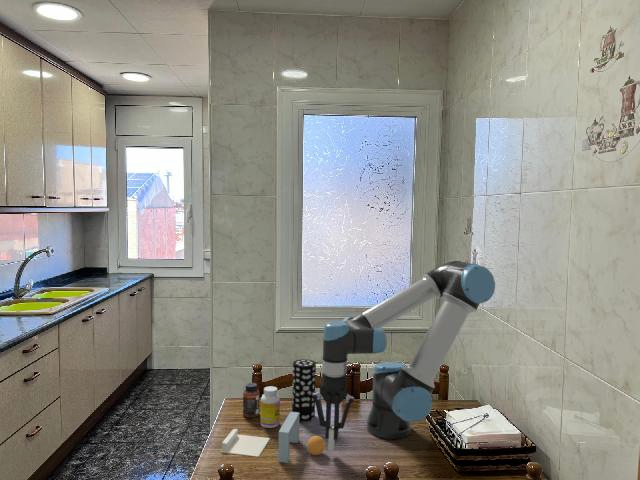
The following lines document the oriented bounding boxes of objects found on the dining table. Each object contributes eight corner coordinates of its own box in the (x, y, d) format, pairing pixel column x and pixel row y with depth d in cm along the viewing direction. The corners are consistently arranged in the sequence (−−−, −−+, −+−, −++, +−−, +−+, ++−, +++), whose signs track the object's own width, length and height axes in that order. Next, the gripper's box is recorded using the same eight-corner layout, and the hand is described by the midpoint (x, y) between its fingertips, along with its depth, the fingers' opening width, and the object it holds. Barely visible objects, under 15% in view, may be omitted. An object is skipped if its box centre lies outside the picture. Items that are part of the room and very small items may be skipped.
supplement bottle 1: (261, 416, 172) (262, 385, 172) (246, 419, 169) (247, 388, 168) (255, 410, 177) (255, 380, 177) (240, 413, 174) (240, 383, 173)
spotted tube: (319, 415, 174) (320, 362, 173) (306, 423, 167) (307, 368, 166) (300, 410, 178) (301, 357, 177) (287, 417, 171) (288, 363, 170)
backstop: (237, 436, 156) (237, 429, 156) (226, 451, 146) (226, 443, 146) (233, 436, 157) (233, 428, 156) (221, 450, 147) (221, 442, 147)
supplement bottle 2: (276, 429, 162) (276, 393, 161) (257, 427, 163) (258, 391, 162) (281, 421, 168) (282, 386, 168) (263, 419, 170) (264, 384, 169)
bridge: (298, 440, 155) (299, 412, 154) (287, 462, 141) (288, 432, 140) (290, 439, 155) (290, 411, 155) (278, 461, 141) (278, 431, 141)
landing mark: (269, 438, 155) (269, 438, 155) (258, 457, 144) (258, 456, 144) (235, 434, 158) (235, 434, 157) (221, 452, 146) (221, 451, 146)
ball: (315, 429, 148) (304, 441, 149) (313, 437, 143) (302, 450, 144) (329, 440, 148) (318, 452, 149) (327, 449, 143) (316, 462, 143)
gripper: (356, 371, 146) (353, 445, 148) (315, 367, 149) (312, 440, 150) (354, 379, 139) (351, 457, 140) (310, 375, 141) (308, 452, 142)
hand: (331, 448), depth 145 cm, fingers closed
